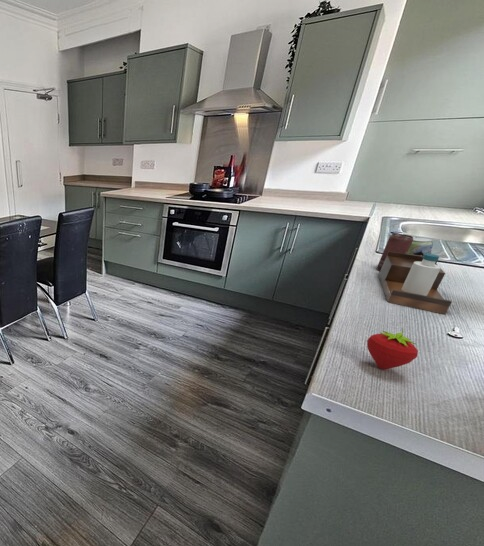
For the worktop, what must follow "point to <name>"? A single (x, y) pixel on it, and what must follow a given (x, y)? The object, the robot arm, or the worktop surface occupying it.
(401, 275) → the rack
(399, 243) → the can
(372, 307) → the worktop surface
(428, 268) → the bottle
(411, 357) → the strawberry
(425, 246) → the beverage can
